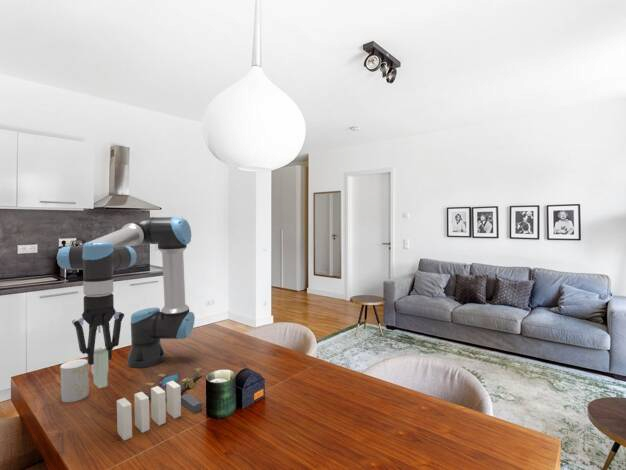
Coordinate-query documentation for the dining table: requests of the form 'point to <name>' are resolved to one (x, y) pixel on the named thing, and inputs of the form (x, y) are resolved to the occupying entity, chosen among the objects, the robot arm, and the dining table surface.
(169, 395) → the domino
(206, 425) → the dining table surface
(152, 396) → the domino
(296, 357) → the dining table surface
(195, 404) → the stop bar
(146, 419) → the domino
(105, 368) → the domino
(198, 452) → the dining table surface
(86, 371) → the cup
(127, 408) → the domino
